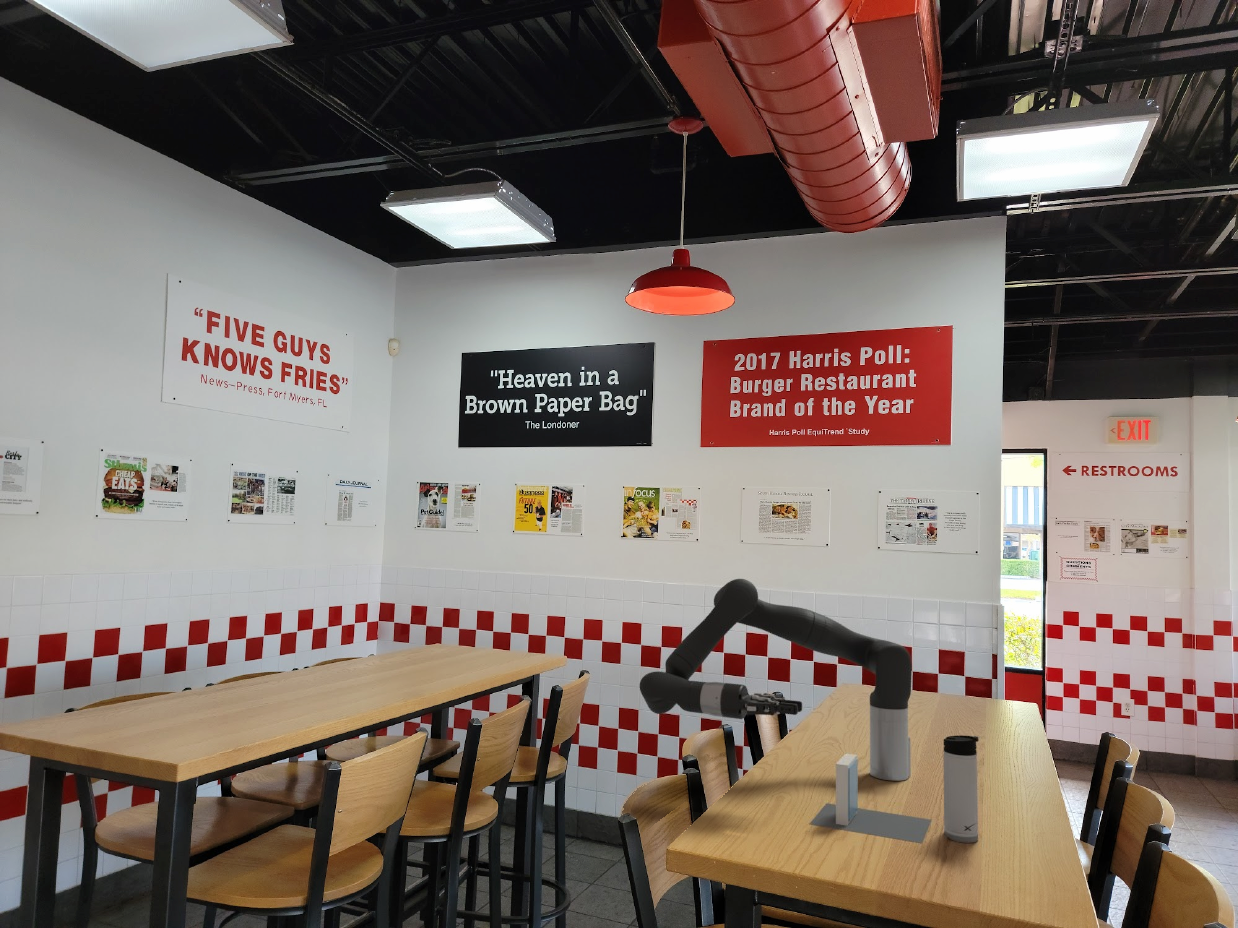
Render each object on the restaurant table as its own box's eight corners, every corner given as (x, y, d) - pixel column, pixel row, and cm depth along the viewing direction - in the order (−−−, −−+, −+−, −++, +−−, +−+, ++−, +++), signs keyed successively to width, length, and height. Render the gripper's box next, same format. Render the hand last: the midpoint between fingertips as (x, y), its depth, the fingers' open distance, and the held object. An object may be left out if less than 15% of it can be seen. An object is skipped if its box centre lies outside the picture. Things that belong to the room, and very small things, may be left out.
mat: (809, 826, 174) (809, 823, 174) (826, 805, 188) (826, 802, 189) (922, 845, 164) (922, 843, 164) (931, 821, 179) (931, 819, 179)
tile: (835, 823, 175) (835, 763, 176) (845, 810, 184) (845, 753, 185) (848, 825, 174) (848, 765, 175) (858, 812, 183) (858, 754, 184)
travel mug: (976, 845, 165) (975, 740, 167) (941, 838, 169) (940, 735, 170) (982, 836, 170) (981, 734, 172) (947, 829, 174) (946, 730, 176)
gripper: (713, 687, 187) (791, 695, 179) (734, 678, 199) (807, 685, 192) (713, 722, 186) (791, 731, 178) (734, 711, 199) (807, 719, 191)
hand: (799, 708), depth 185 cm, fingers open, 3 cm apart
